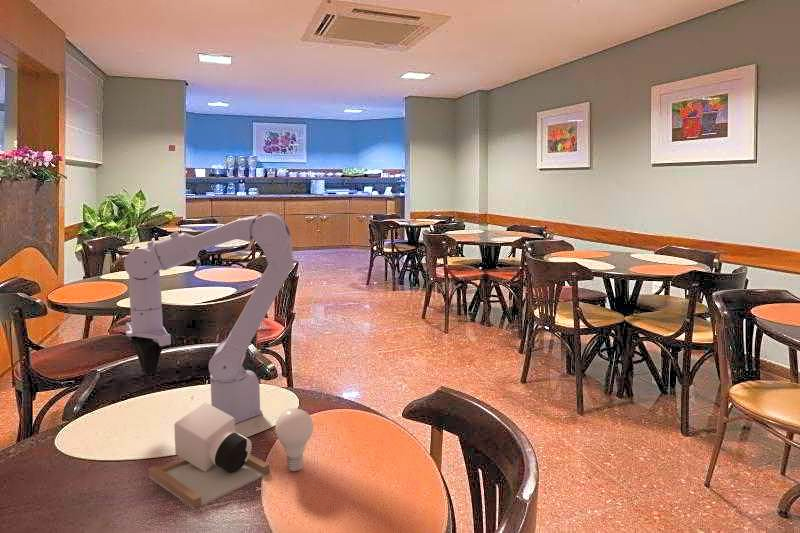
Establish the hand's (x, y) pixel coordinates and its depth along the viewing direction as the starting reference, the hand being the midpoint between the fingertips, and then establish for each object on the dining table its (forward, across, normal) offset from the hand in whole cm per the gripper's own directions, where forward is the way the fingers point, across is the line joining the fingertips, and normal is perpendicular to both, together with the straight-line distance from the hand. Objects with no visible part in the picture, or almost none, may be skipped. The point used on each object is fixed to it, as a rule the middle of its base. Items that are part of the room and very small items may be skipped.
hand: (149, 372), depth 113 cm
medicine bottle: (+4, +20, -3) cm, 21 cm away
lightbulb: (+10, +37, +7) cm, 39 cm away
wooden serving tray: (+10, +28, -4) cm, 30 cm away
